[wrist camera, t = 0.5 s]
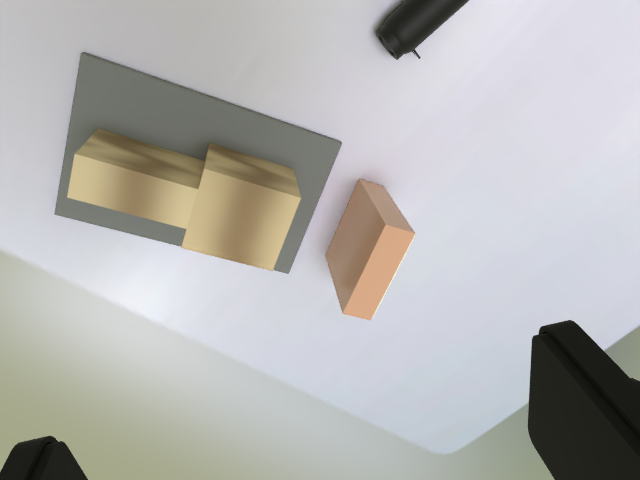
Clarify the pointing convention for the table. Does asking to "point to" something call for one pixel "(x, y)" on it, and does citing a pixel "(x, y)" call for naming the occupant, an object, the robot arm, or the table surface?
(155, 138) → the rest mat
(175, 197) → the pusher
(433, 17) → the door handle
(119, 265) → the table surface
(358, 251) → the tan rectangular block
